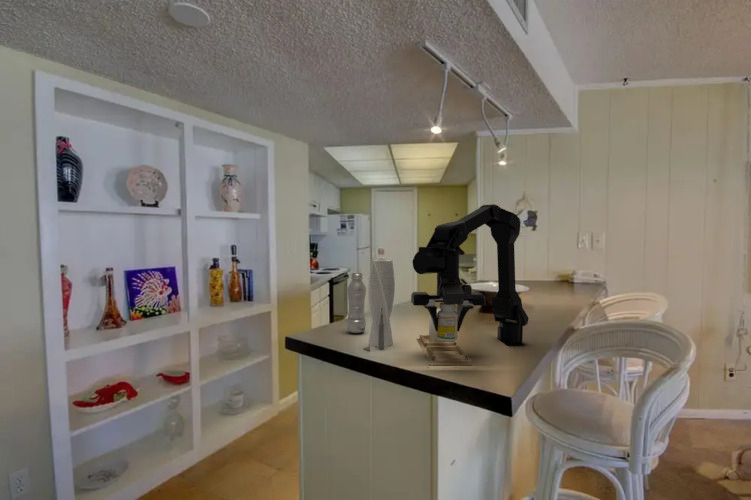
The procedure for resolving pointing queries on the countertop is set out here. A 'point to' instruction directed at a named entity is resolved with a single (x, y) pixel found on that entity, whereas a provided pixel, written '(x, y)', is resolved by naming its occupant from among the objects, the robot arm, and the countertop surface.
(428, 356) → the caddy
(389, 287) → the skyscraper
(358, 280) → the plastic bottle
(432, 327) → the white rounded rod
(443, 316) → the supplement bottle
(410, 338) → the countertop surface
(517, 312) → the robot arm
